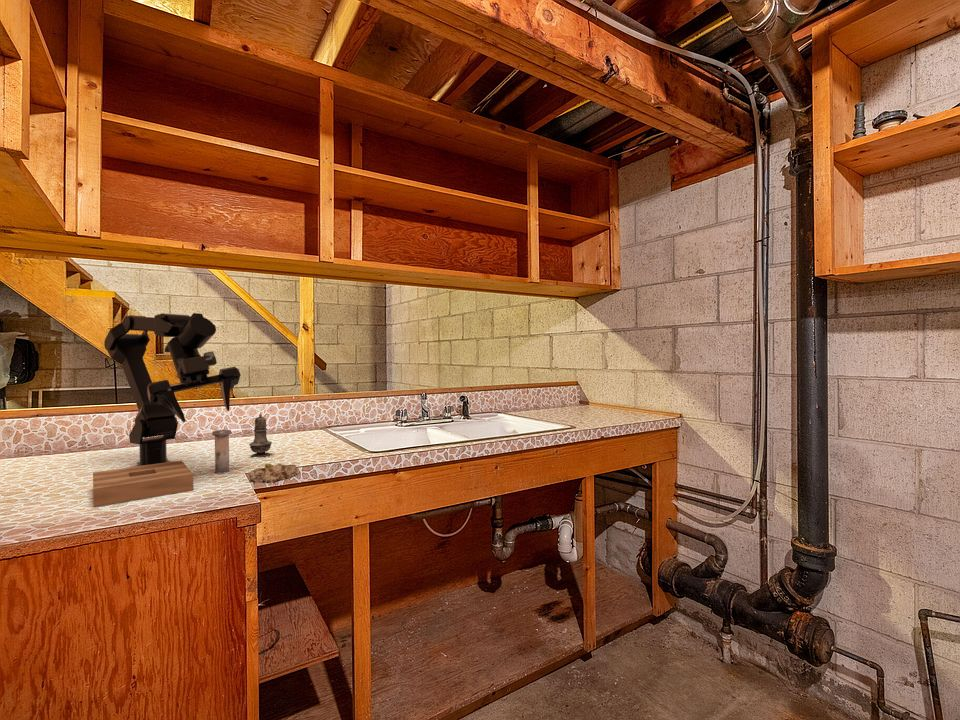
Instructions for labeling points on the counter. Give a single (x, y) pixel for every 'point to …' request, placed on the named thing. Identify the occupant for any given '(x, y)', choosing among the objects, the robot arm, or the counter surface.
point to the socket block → (140, 482)
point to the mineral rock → (273, 473)
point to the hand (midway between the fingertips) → (207, 415)
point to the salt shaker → (260, 439)
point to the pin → (221, 450)
